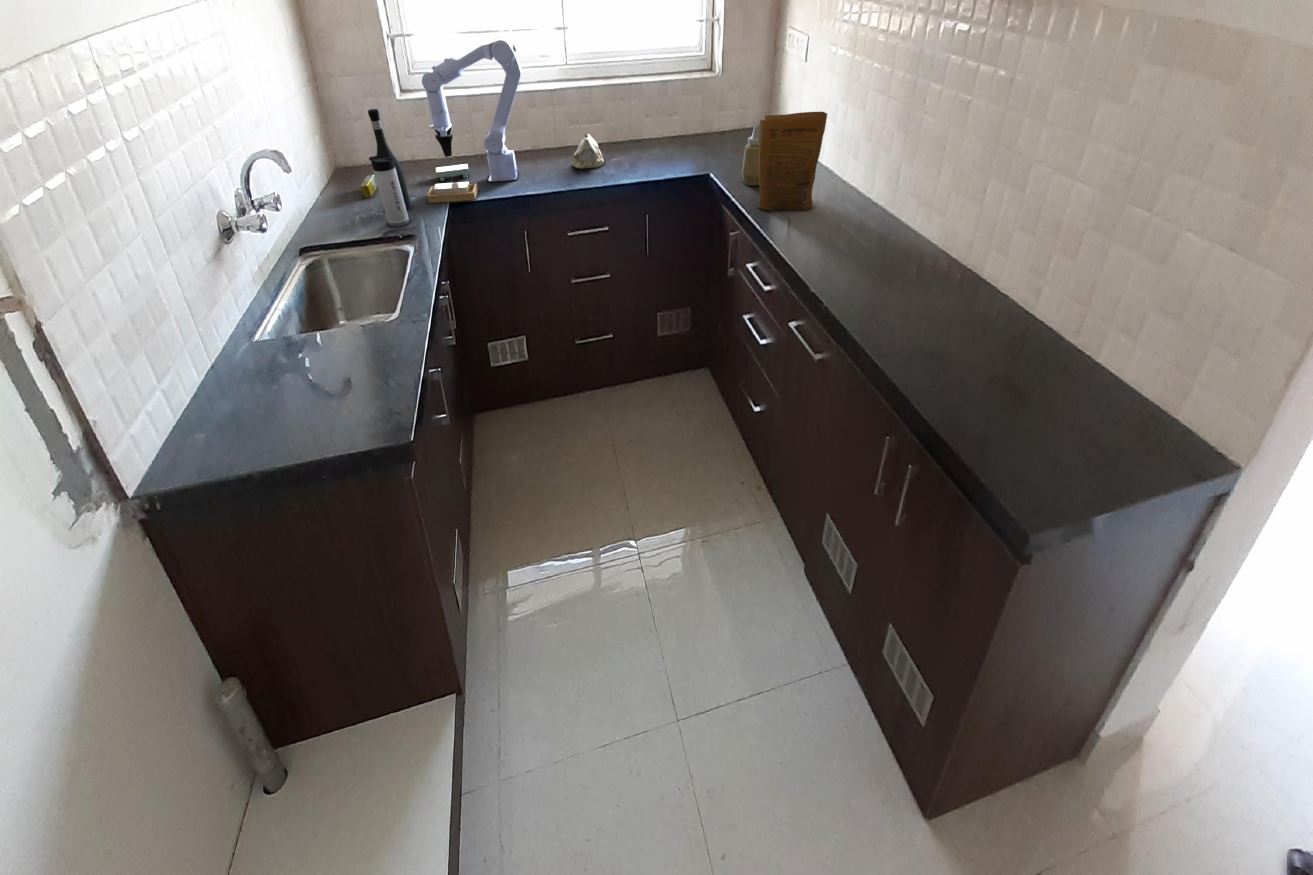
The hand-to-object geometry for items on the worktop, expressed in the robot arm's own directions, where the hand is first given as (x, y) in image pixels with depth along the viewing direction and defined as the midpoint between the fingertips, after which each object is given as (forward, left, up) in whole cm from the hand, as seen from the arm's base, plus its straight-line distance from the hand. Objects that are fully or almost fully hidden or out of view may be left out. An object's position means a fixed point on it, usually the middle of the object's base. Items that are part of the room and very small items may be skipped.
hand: (447, 153), depth 244 cm
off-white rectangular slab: (-2, +16, -9) cm, 19 cm away
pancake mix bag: (-107, +47, -10) cm, 117 cm away
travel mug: (+12, +36, -10) cm, 40 cm away
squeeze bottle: (-102, +23, -10) cm, 105 cm away
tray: (-2, +16, -9) cm, 19 cm away
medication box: (+27, +6, -10) cm, 29 cm away
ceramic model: (-48, -10, -10) cm, 49 cm away
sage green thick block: (0, -4, -9) cm, 10 cm away
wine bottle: (+14, +24, -10) cm, 30 cm away
